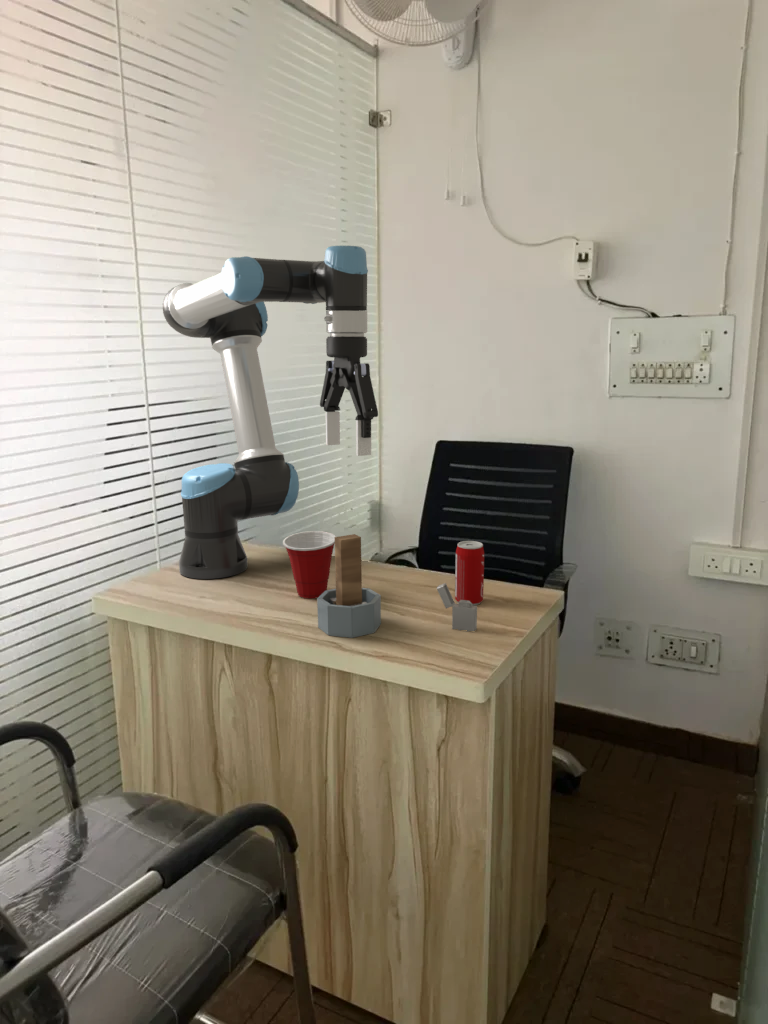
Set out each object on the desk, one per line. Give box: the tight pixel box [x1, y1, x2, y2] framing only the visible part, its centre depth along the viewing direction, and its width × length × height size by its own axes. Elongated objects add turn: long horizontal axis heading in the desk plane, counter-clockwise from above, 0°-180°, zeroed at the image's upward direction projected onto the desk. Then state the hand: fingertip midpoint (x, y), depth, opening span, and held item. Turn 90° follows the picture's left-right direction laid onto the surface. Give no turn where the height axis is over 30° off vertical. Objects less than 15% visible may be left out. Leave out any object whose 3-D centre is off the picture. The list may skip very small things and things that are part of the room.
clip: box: [329, 597, 366, 606], centre depth 134 cm, size 6×5×4 cm
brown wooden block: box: [334, 533, 363, 606], centre depth 133 cm, size 2×4×16 cm, turn 120°
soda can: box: [454, 540, 485, 606], centre depth 145 cm, size 6×6×12 cm
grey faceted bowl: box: [316, 587, 382, 639], centre depth 134 cm, size 11×11×6 cm
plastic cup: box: [282, 530, 337, 599], centre depth 150 cm, size 11×11×12 cm
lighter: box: [436, 582, 478, 632], centre depth 132 cm, size 7×2×8 cm, turn 68°
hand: (347, 449), depth 141 cm, fingers open, 13 cm apart
